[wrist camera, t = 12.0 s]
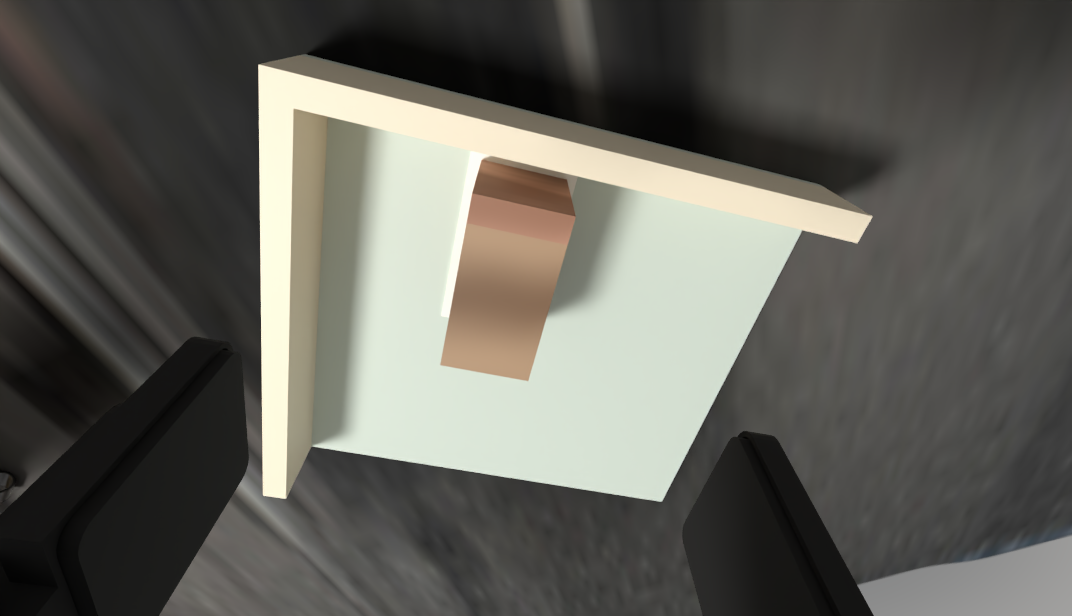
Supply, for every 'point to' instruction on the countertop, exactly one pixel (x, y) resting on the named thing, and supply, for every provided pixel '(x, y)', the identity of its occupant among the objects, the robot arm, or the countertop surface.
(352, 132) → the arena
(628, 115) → the countertop surface
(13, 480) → the coffee press
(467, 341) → the copper block
